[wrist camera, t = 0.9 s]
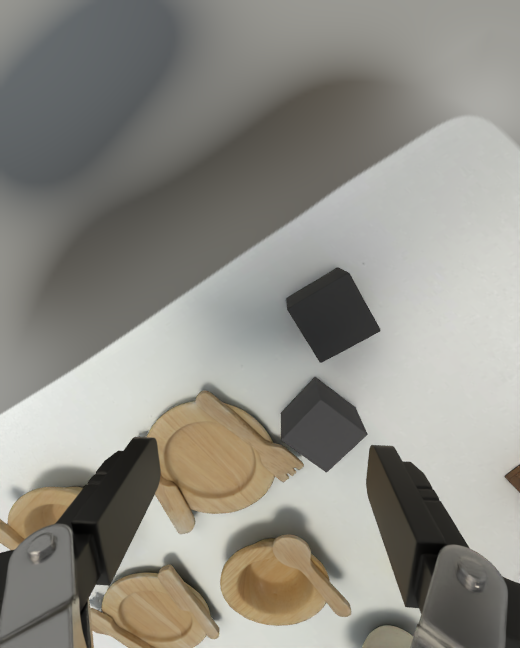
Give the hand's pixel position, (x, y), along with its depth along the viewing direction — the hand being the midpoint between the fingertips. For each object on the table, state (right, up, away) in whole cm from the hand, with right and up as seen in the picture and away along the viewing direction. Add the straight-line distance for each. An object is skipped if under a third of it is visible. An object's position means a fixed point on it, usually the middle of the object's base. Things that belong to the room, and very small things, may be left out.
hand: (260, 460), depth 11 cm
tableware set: (-9, -19, +23) cm, 31 cm away
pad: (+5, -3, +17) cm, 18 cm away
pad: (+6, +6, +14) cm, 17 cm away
